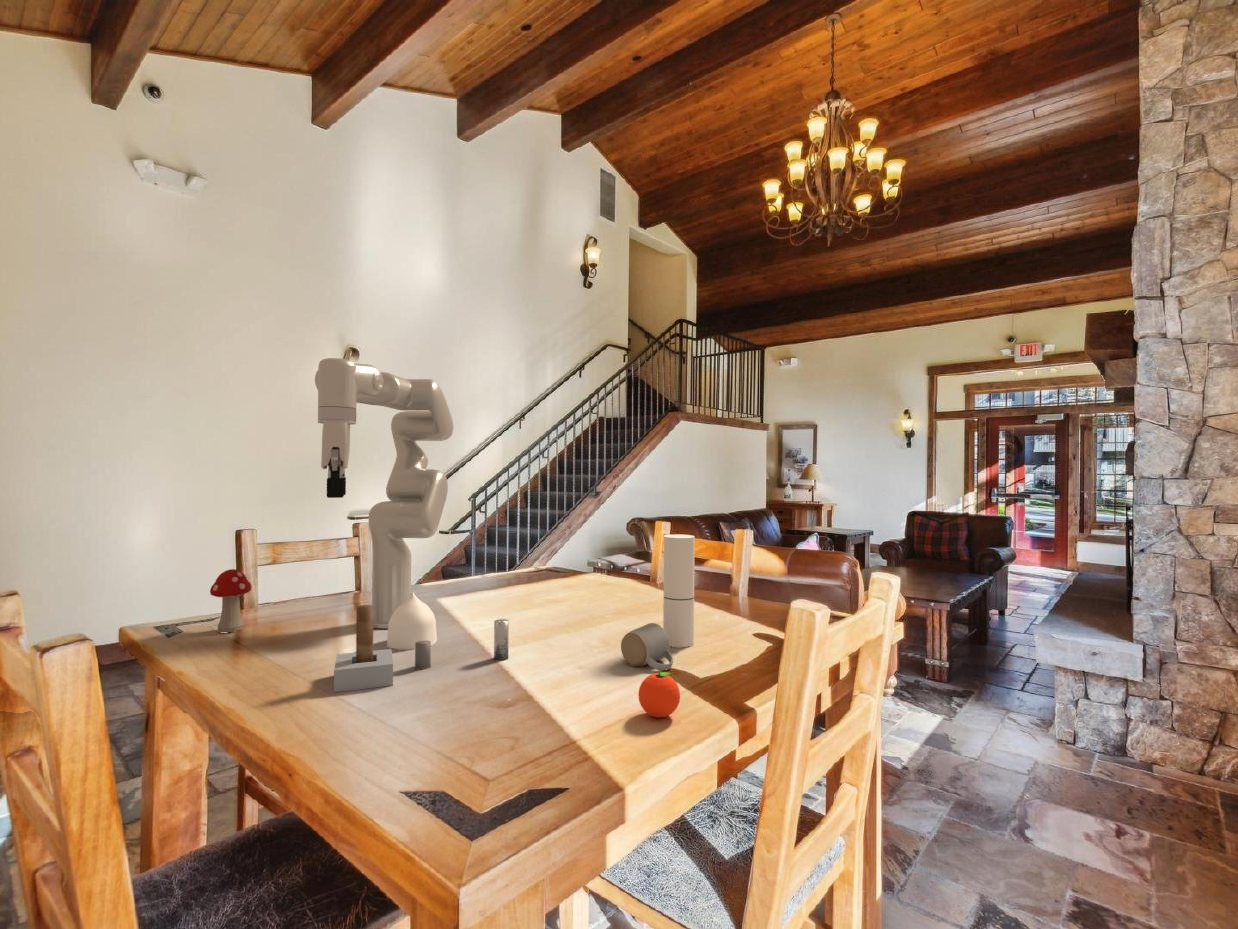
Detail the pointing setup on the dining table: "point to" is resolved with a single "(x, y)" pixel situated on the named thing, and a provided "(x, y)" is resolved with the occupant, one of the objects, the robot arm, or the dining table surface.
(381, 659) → the hole block
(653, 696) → the clementine
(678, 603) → the cylindrical container
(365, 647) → the long pin
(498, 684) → the dining table surface
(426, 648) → the short pin
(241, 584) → the decorative mushroom
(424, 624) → the teardrop
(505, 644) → the medium pin
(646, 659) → the ceramic mug
